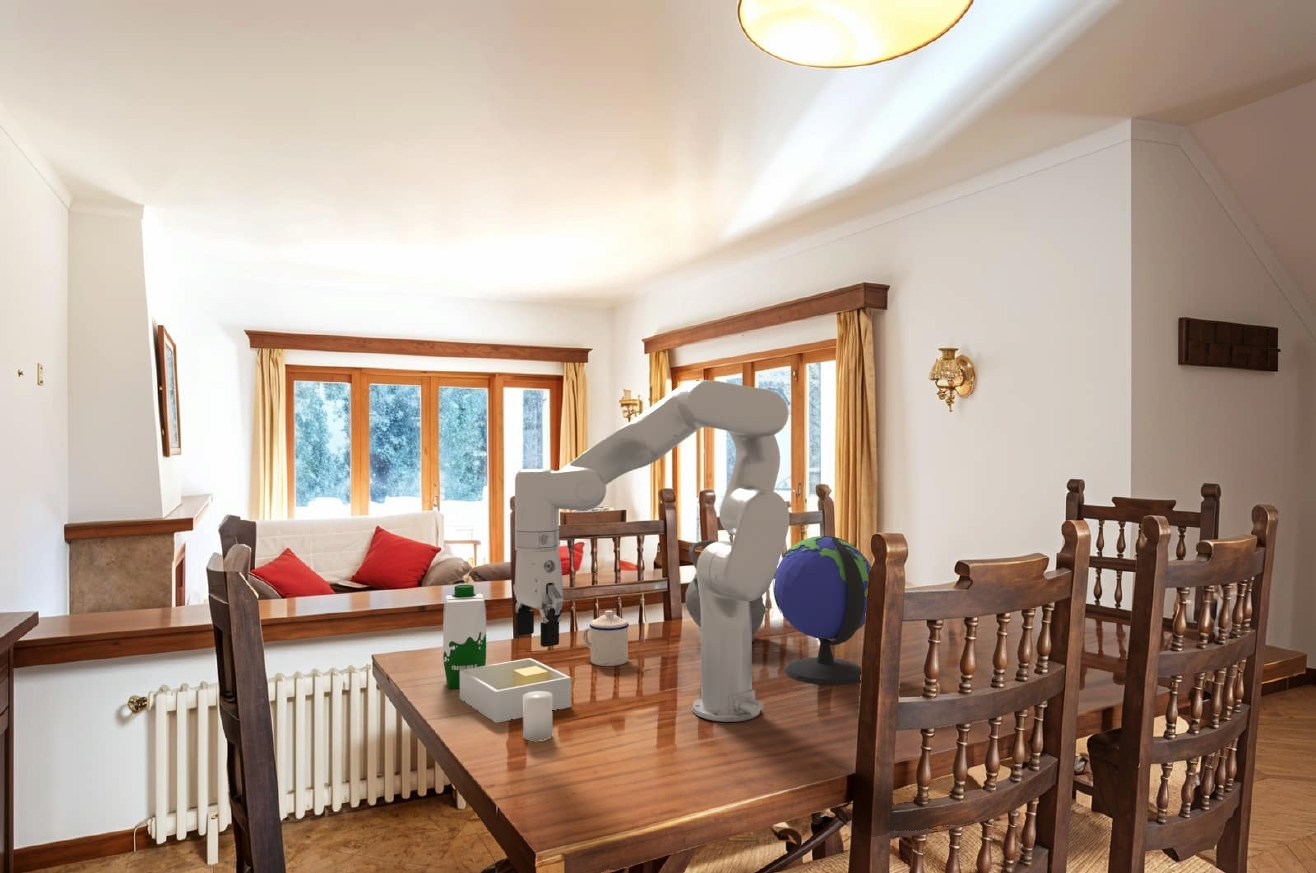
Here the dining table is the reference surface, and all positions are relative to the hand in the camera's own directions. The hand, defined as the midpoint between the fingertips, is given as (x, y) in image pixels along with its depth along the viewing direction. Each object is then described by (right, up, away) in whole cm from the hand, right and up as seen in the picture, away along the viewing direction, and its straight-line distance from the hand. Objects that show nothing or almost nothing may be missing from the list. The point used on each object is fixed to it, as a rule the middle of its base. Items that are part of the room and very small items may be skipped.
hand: (537, 639), depth 139 cm
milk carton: (-20, -17, +30) cm, 40 cm away
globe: (+57, -17, +37) cm, 70 cm away
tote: (-7, -17, +17) cm, 25 cm away
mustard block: (-4, -16, +19) cm, 25 cm away
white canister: (0, -16, -1) cm, 16 cm away
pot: (+38, -17, +66) cm, 78 cm away
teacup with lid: (+8, -17, +48) cm, 51 cm away
